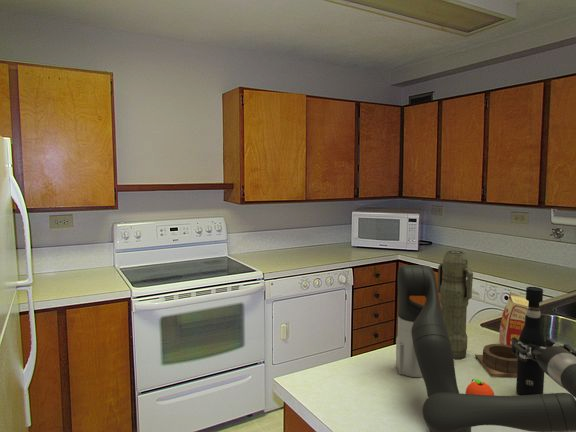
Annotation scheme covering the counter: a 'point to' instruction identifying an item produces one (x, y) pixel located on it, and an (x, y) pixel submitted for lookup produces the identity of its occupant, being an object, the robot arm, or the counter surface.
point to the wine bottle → (530, 371)
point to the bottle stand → (498, 360)
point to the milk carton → (513, 318)
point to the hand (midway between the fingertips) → (530, 341)
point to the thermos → (455, 298)
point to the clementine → (479, 388)
